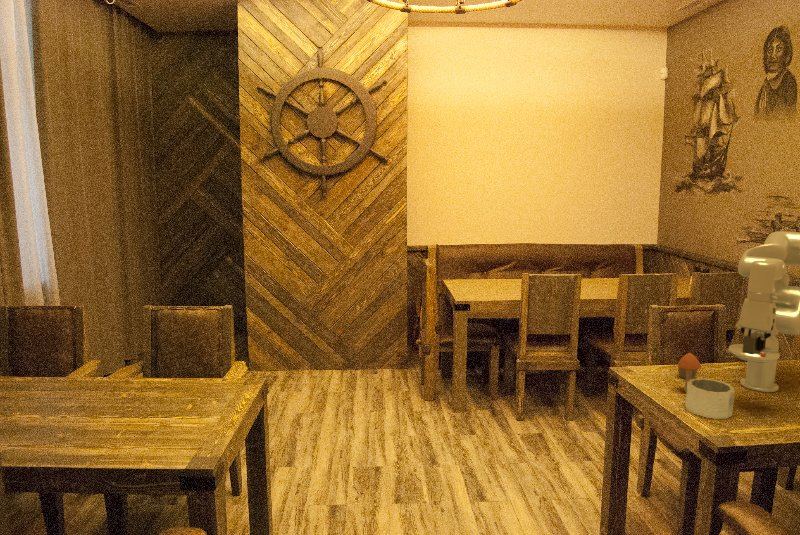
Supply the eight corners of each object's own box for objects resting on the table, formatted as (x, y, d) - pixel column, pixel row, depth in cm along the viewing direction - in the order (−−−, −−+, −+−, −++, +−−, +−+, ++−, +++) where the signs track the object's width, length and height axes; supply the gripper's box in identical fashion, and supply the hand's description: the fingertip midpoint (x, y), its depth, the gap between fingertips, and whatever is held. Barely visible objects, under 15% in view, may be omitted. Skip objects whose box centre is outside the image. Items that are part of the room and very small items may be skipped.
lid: (738, 348, 219) (741, 326, 218) (785, 359, 208) (788, 335, 206) (720, 356, 210) (723, 333, 208) (768, 368, 198) (771, 344, 197)
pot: (696, 399, 217) (699, 375, 216) (738, 411, 207) (741, 386, 205) (678, 409, 208) (680, 384, 207) (720, 422, 198) (723, 396, 196)
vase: (698, 381, 236) (700, 359, 234) (679, 379, 237) (681, 358, 236) (693, 375, 242) (695, 354, 241) (675, 374, 244) (677, 353, 242)
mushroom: (672, 386, 230) (676, 348, 227) (695, 388, 228) (699, 350, 225) (677, 394, 222) (681, 355, 219) (701, 396, 220) (705, 356, 218)
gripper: (791, 299, 201) (784, 352, 204) (738, 291, 214) (733, 341, 217) (782, 303, 196) (776, 357, 200) (729, 294, 209) (724, 345, 212)
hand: (754, 348), depth 208 cm, fingers closed on lid, 3 cm apart
